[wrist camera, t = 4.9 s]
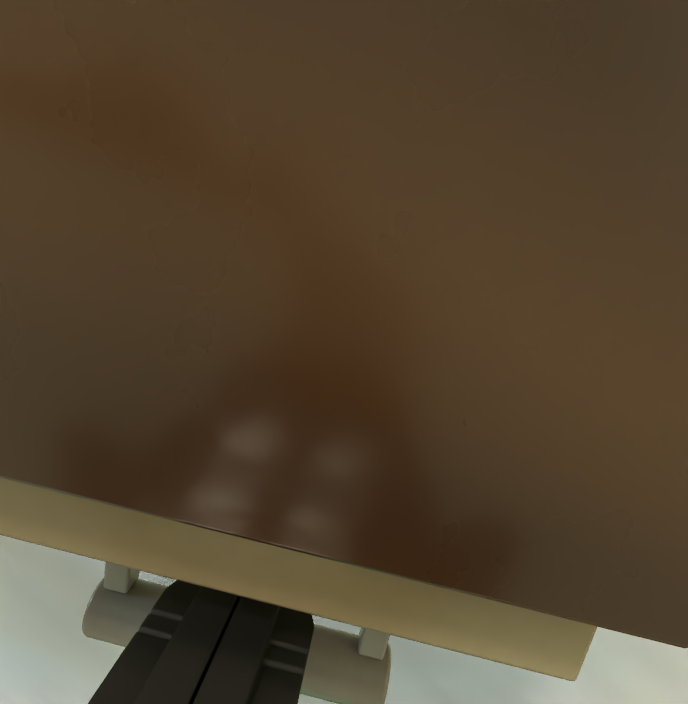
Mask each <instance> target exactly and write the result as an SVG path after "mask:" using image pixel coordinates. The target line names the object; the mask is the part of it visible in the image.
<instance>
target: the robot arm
mask: <svg viewBox="0 0 688 704" xmlns="http://www.w3.org/2000/svg"><path fill="white" fill-rule="evenodd" d="M314 627H315V626H314V623H313V619H312V615H311V614H308V613H304V612H300V611H296V610H292V609H288V608H285V607H281V606H277V605H273V604H269V603H265V602H261V601H257V600H253V599H249V598H246V597H242V596H238V595H234V594H230V593H226V592H222V591H218V590H214V589H210V588H207V587H203V586H199V585H195V584H191V583H187V582H183V581H179V580H177V581H176V582H174V583H173V584H171V585H170V586H168V587H167V588H166V589H165V590H164V592H163V593H162V595H161V596H160V598H159V599H158V601H157V602H156V604H155V605H154V607H153V608H152V610H151V613H150V614H148V615H147V617H146V618H145V620H144V621H143V623H142V624H141V626H140V628H139V631H138V632H136V633H135V635H134V636H133V638H132V639H131V641H130V642H129V644H128V645H127V647H126V648H125V649H124V651H123V652H122V654H121V655H120V657H119V658H118V660H117V661H116V663H115V664H114V666H113V667H112V669H111V670H110V672H109V673H108V675H107V676H106V678H105V679H104V681H103V682H102V684H101V685H100V687H99V688H98V689H97V691H96V692H95V694H94V695H93V697H92V698H91V700H90V701H89V703H88V704H298V699H299V695H300V690H301V686H302V681H303V676H304V672H305V667H306V663H307V658H308V654H309V649H310V645H311V640H312V636H313V631H314Z"/></svg>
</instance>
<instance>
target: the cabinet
mask: <svg viewBox="0 0 688 704" xmlns="http://www.w3.org/2000/svg"><path fill="white" fill-rule="evenodd" d="M0 478H4V479H8V480H12V481H16V482H20V483H24V484H28V485H32V486H36V487H40V488H44V489H48V490H52V491H56V492H60V493H64V494H68V495H72V496H76V497H80V498H84V499H88V500H92V501H96V502H100V503H104V504H108V505H112V506H116V507H120V508H124V509H128V510H132V511H136V512H140V513H144V514H148V515H152V516H156V517H160V518H164V519H168V520H172V521H176V522H180V523H184V524H188V525H192V526H196V527H200V528H204V529H208V530H212V531H216V532H220V533H225V534H229V535H233V536H237V537H241V538H245V539H249V540H253V541H257V542H261V543H265V544H269V545H273V546H277V547H281V548H285V549H289V550H293V551H297V552H301V553H305V554H309V555H313V556H317V557H321V558H325V559H329V560H333V561H337V562H341V563H345V564H349V565H353V566H357V567H361V568H365V569H369V570H373V571H377V572H381V573H385V574H389V575H393V576H397V577H401V578H405V579H409V580H413V581H417V582H421V583H425V584H429V585H433V586H437V587H441V588H445V589H449V590H453V591H457V592H461V593H465V594H469V595H473V596H477V597H481V598H485V599H489V600H493V601H497V602H501V603H505V604H509V605H513V606H517V607H521V608H525V609H529V610H534V611H538V612H542V613H546V614H550V615H554V616H558V617H562V618H566V619H570V620H574V621H578V622H582V623H586V624H590V625H594V626H598V627H602V628H606V629H610V630H614V631H618V632H622V633H626V634H630V635H634V636H638V637H642V638H646V639H650V640H654V641H658V642H662V643H666V644H670V645H674V646H678V647H682V648H688V0H0Z"/></svg>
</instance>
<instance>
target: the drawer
mask: <svg viewBox="0 0 688 704" xmlns="http://www.w3.org/2000/svg"><path fill="white" fill-rule="evenodd" d="M0 535H4V536H7V537H11V538H15V539H19V540H23V541H27V542H31V543H35V544H39V545H43V546H47V547H50V548H54V549H58V550H62V551H66V552H70V553H74V554H78V555H82V556H86V557H89V558H93V559H97V560H101V561H105V562H106V565H105V576H104V578H103V579H102V581H101V582H100V583H99V585H98V586H97V588H96V589H95V591H94V593H93V594H92V596H91V598H90V601H89V603H88V605H87V608H86V611H85V614H84V618H83V624H82V630H83V633H84V634H85V635H86V636H87V637H90V638H94V639H97V640H101V641H105V642H109V643H112V644H116V645H120V646H124V647H127V645H128V644H129V642H130V641H131V639H132V638H133V636H134V635H135V633H136V632H138V631H139V628H140V626H141V624H142V623H143V621H144V620H145V618H146V617H147V615H148V614H150V613H151V610H152V608H153V607H154V605H155V604H156V602H157V601H158V599H159V598H160V596H161V595H162V593H163V592H164V590H165V589H166V588H167V587H168V586H164V585H160V584H157V583H153V582H149V581H145V580H141V579H138V578H139V570H140V571H144V572H148V573H152V574H156V575H160V576H164V577H167V578H171V579H175V580H179V581H183V582H187V583H191V584H195V585H199V586H203V587H207V588H210V589H214V590H218V591H222V592H226V593H230V594H234V595H238V596H242V597H246V598H249V599H253V600H257V601H261V602H265V603H269V604H273V605H277V606H281V607H285V608H288V609H292V610H296V611H300V612H304V613H308V614H312V615H316V616H320V617H324V618H327V619H331V620H335V621H339V622H343V623H347V624H351V625H355V626H359V627H361V629H360V633H359V635H355V634H351V633H347V632H343V631H339V630H335V629H331V628H328V627H324V626H320V625H316V624H314V626H315V627H314V631H313V636H312V640H311V645H310V649H309V654H308V658H307V663H306V667H305V672H304V676H303V681H302V686H301V690H300V694H304V695H308V696H312V697H315V698H319V699H323V700H327V701H330V702H334V703H338V704H384V702H385V698H386V694H387V689H388V683H389V676H390V667H391V649H390V645H389V644H388V640H389V636H390V635H394V636H398V637H402V638H406V639H409V640H413V641H417V642H421V643H425V644H429V645H433V646H437V647H441V648H445V649H448V650H452V651H456V652H460V653H464V654H468V655H472V656H476V657H480V658H484V659H487V660H491V661H495V662H499V663H503V664H507V665H511V666H515V667H519V668H523V669H527V670H530V671H534V672H538V673H542V674H546V675H550V676H554V677H558V678H562V679H566V680H569V681H575V680H576V679H577V676H578V674H579V671H580V669H581V666H582V664H583V661H584V659H585V656H586V654H587V651H588V649H589V646H590V643H591V641H592V638H593V636H594V633H595V631H596V628H597V626H594V625H590V624H586V623H582V622H578V621H574V620H570V619H566V618H562V617H558V616H554V615H550V614H546V613H542V612H538V611H534V610H529V609H525V608H521V607H517V606H513V605H509V604H505V603H501V602H497V601H493V600H489V599H485V598H481V597H477V596H473V595H469V594H465V593H461V592H457V591H453V590H449V589H445V588H441V587H437V586H433V585H429V584H425V583H421V582H417V581H413V580H409V579H405V578H401V577H397V576H393V575H389V574H385V573H381V572H377V571H373V570H369V569H365V568H361V567H357V566H353V565H349V564H345V563H341V562H337V561H333V560H329V559H325V558H321V557H317V556H313V555H309V554H305V553H301V552H297V551H293V550H289V549H285V548H281V547H277V546H273V545H269V544H265V543H261V542H257V541H253V540H249V539H245V538H241V537H237V536H233V535H229V534H225V533H220V532H216V531H212V530H208V529H204V528H200V527H196V526H192V525H188V524H184V523H180V522H176V521H172V520H168V519H164V518H160V517H156V516H152V515H148V514H144V513H140V512H136V511H132V510H128V509H124V508H120V507H116V506H112V505H108V504H104V503H100V502H96V501H92V500H88V499H84V498H80V497H76V496H72V495H68V494H64V493H60V492H56V491H52V490H48V489H44V488H40V487H36V486H32V485H28V484H24V483H20V482H16V481H12V480H8V479H4V478H0Z"/></svg>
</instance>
